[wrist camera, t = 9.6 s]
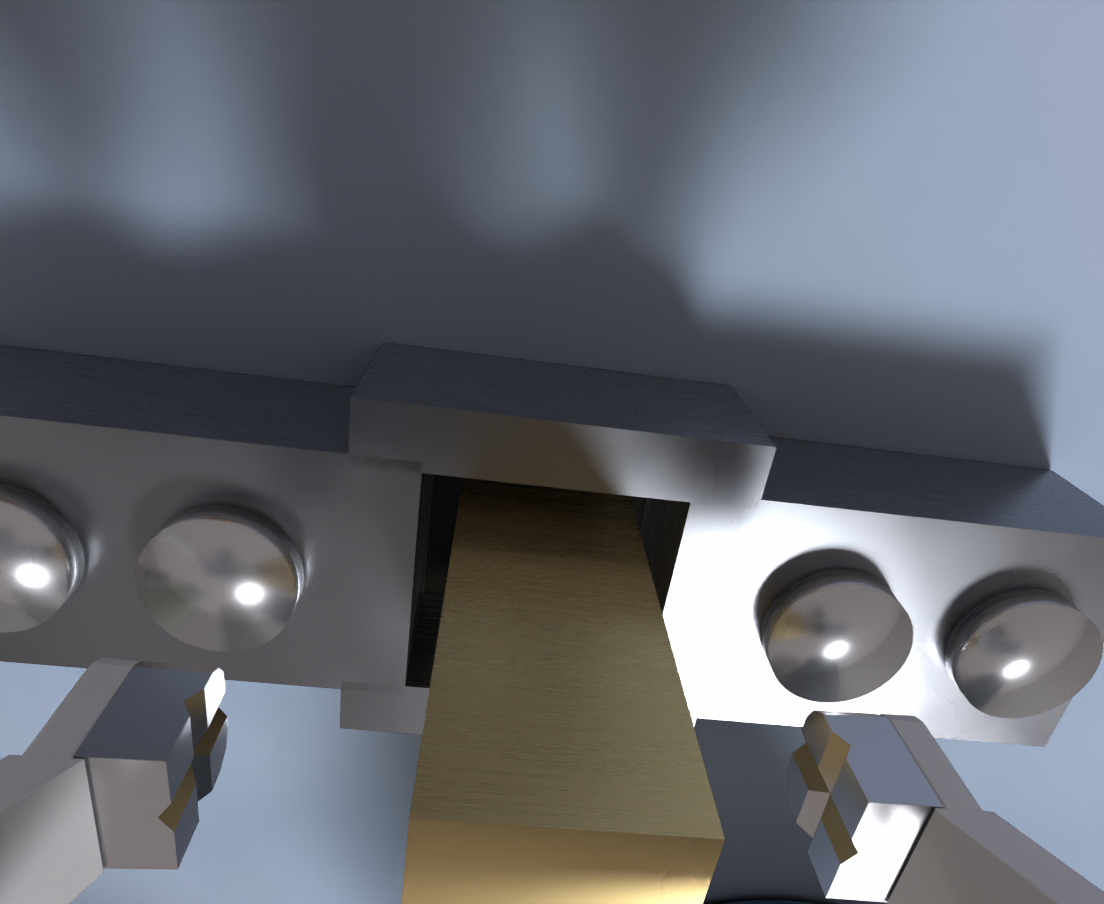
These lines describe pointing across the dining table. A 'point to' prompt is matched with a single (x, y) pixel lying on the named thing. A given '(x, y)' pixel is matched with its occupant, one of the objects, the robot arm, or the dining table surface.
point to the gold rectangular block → (556, 717)
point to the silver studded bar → (542, 460)
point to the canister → (768, 902)
